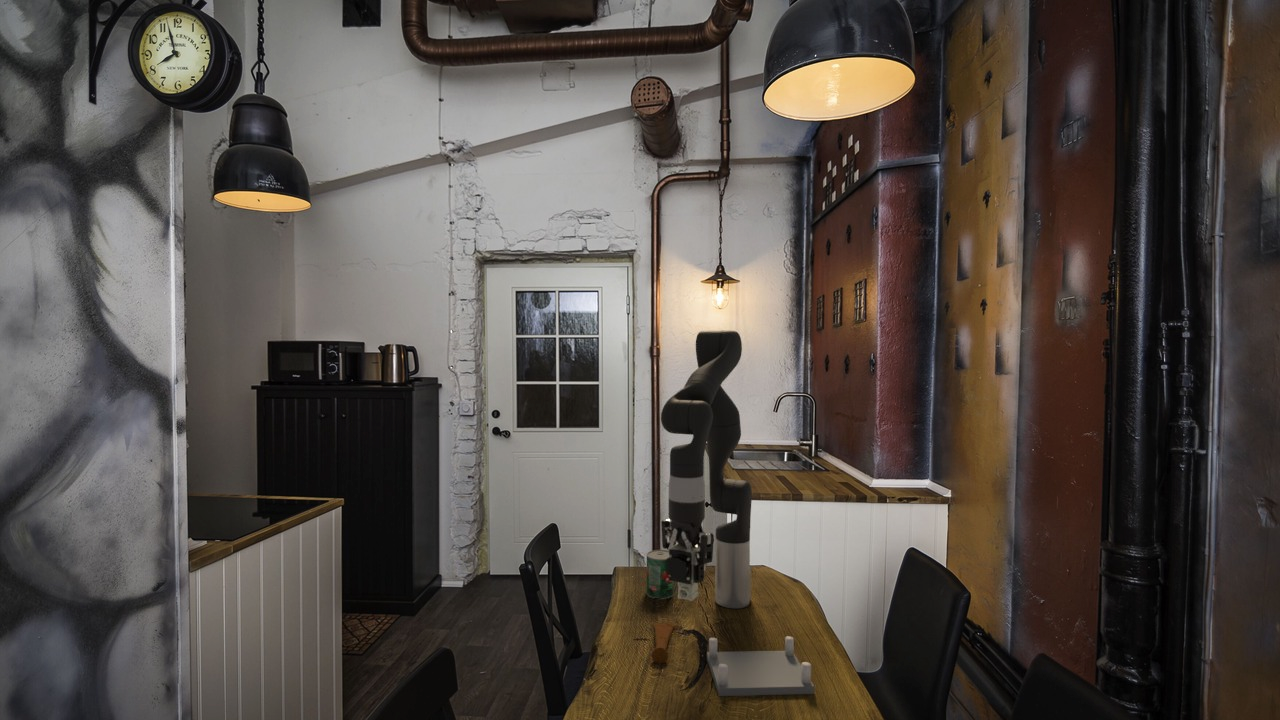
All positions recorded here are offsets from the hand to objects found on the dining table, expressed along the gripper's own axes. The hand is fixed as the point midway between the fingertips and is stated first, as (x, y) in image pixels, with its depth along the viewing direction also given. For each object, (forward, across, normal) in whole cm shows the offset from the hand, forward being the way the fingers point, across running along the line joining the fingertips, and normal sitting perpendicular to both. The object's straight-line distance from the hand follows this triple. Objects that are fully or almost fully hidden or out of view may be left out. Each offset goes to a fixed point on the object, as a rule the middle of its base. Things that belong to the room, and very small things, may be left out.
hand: (686, 576), depth 119 cm
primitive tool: (+22, +14, -5) cm, 27 cm away
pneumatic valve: (+5, 0, 0) cm, 5 cm away
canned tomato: (+22, +36, -22) cm, 47 cm away
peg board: (+21, -9, -12) cm, 26 cm away
